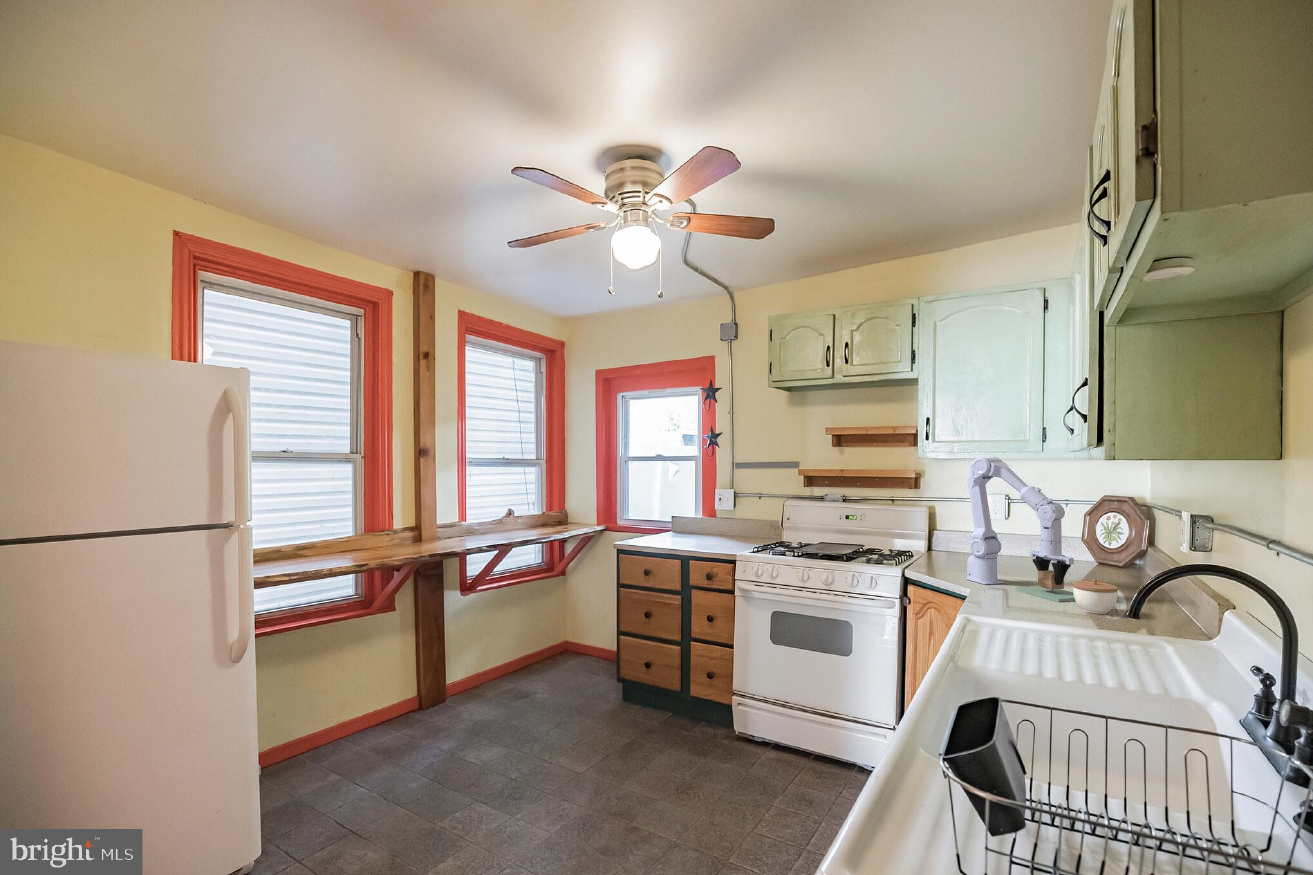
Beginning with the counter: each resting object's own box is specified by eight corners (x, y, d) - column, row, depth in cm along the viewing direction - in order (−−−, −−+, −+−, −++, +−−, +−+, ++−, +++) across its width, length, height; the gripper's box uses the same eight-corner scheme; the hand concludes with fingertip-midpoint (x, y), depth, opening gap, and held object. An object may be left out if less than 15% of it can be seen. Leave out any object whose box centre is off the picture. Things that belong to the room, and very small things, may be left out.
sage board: (1015, 590, 203) (1015, 587, 203) (1045, 588, 206) (1045, 585, 206) (1058, 602, 187) (1058, 598, 187) (1089, 599, 190) (1089, 596, 190)
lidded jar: (1079, 604, 184) (1079, 573, 185) (1122, 612, 176) (1122, 579, 176) (1067, 610, 178) (1067, 578, 178) (1111, 618, 169) (1111, 584, 170)
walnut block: (1037, 586, 198) (1037, 570, 198) (1050, 585, 200) (1050, 570, 200) (1051, 589, 193) (1051, 574, 194) (1064, 588, 195) (1063, 573, 195)
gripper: (1022, 537, 203) (1022, 578, 203) (1061, 544, 189) (1061, 588, 189) (1039, 537, 205) (1039, 577, 204) (1079, 543, 191) (1079, 587, 190)
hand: (1051, 582), depth 197 cm, fingers closed on walnut block, 5 cm apart
